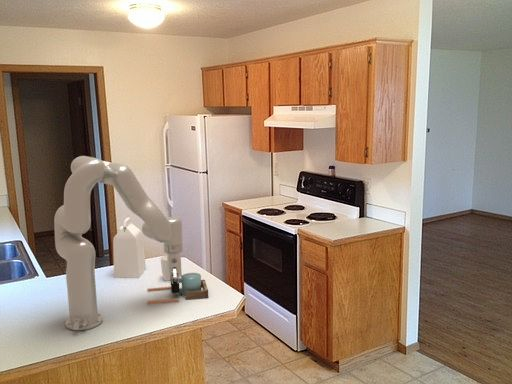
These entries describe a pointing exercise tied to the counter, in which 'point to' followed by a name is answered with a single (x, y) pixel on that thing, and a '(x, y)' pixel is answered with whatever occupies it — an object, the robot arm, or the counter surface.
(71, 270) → the robot arm
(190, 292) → the brown wooden frame
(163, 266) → the white cup
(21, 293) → the counter surface
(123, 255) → the milk
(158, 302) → the strips
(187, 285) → the jug
